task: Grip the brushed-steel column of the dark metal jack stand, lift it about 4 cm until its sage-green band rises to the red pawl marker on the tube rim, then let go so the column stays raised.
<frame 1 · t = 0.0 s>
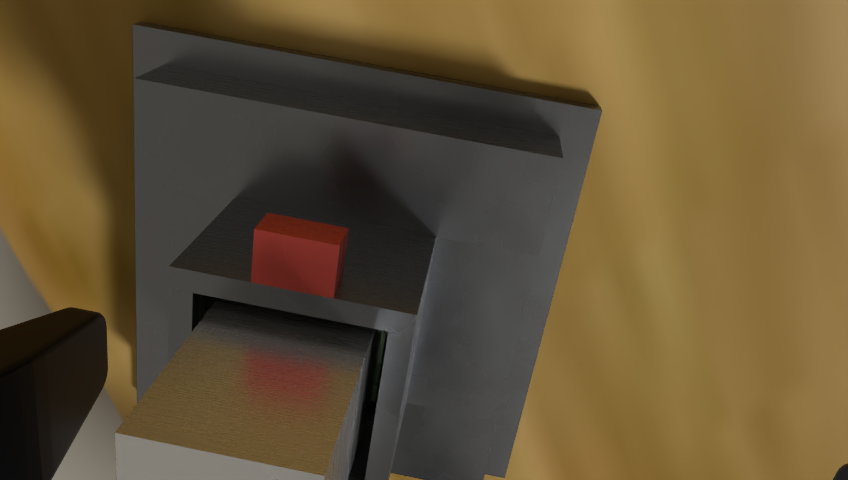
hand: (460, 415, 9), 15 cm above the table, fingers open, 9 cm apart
jack stand base: (342, 269, 25), on the table
column: (292, 372, 20), point 6 cm above the table, slide at 0.0 cm
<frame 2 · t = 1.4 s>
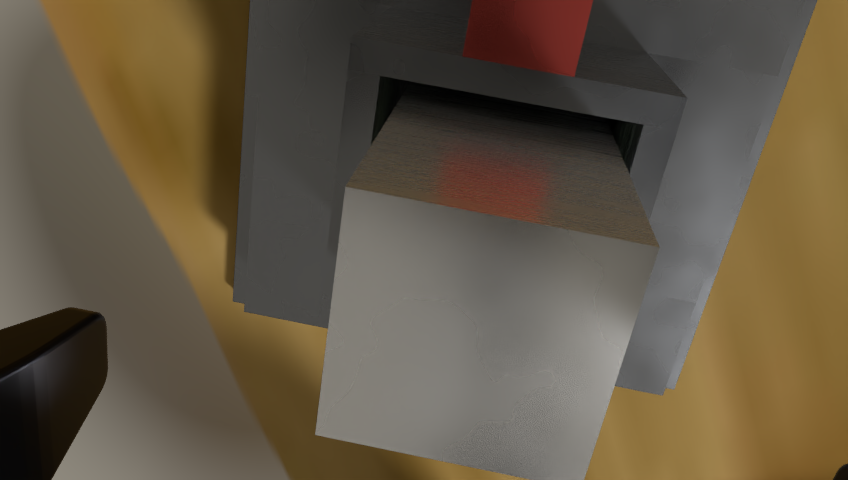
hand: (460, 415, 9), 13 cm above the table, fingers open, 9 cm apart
jack stand base: (495, 125, 21), on the table
column: (487, 204, 15), point 6 cm above the table, slide at 0.0 cm
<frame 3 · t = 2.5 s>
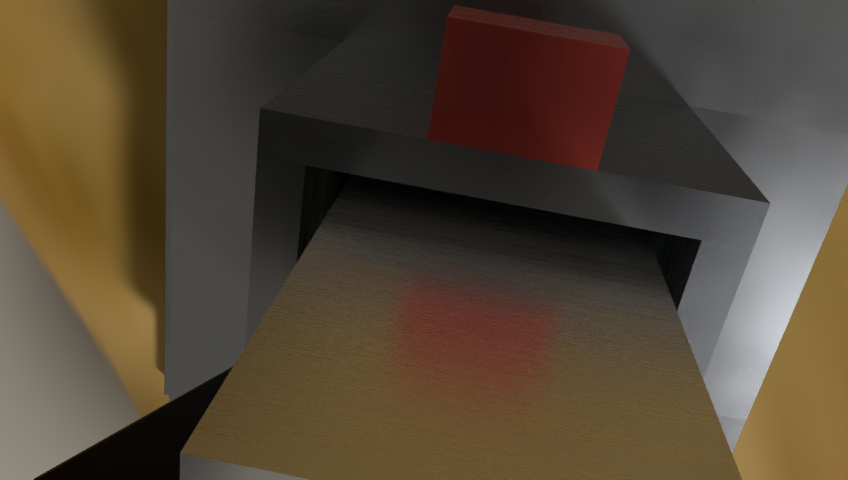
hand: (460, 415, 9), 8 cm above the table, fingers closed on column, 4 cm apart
jack stand base: (486, 185, 16), on the table
column: (469, 331, 11), point 6 cm above the table, slide at 0.0 cm, touching gripper
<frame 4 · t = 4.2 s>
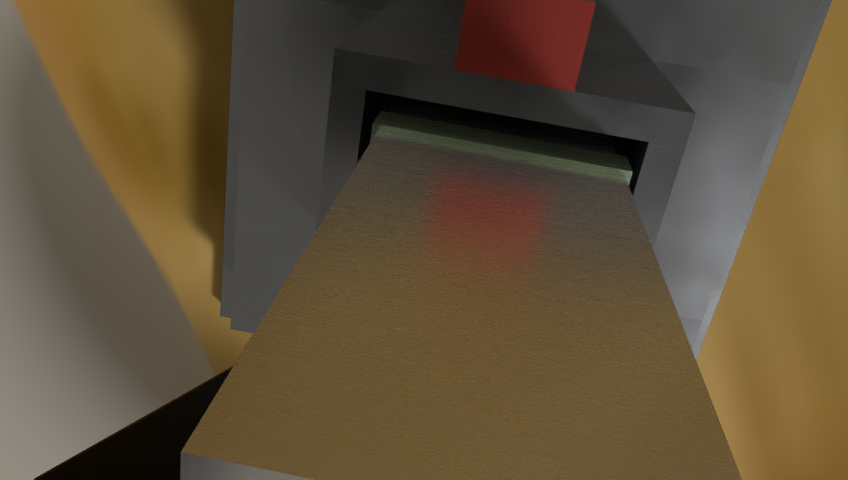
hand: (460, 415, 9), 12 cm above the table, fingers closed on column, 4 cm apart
jack stand base: (492, 133, 20), on the table
column: (469, 330, 11), point 10 cm above the table, slide at 3.9 cm, touching gripper
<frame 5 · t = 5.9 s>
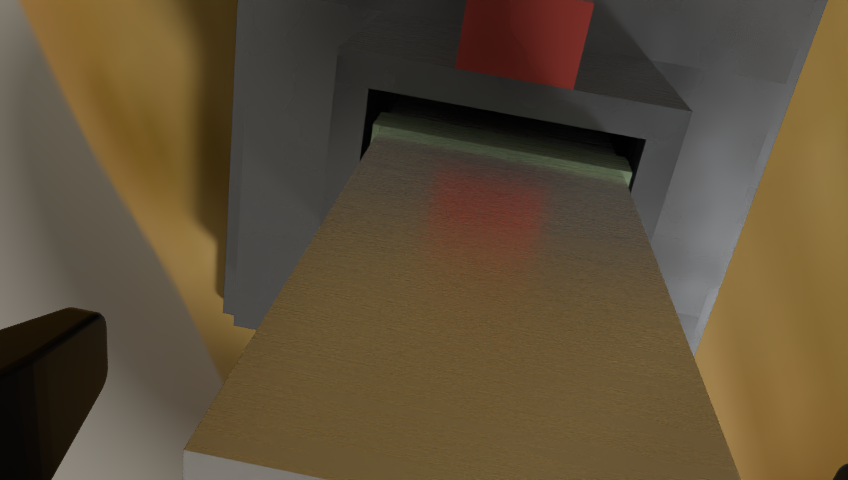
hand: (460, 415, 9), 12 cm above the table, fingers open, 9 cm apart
jack stand base: (492, 132, 20), on the table
column: (469, 330, 11), point 10 cm above the table, slide at 4.1 cm
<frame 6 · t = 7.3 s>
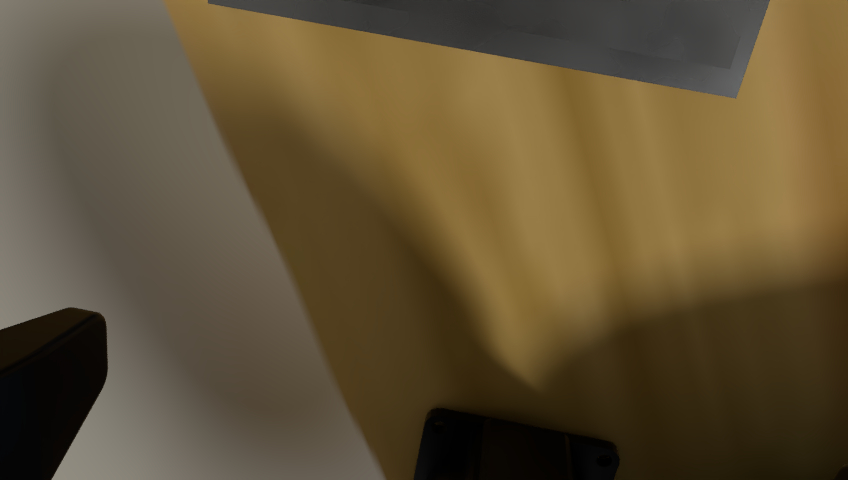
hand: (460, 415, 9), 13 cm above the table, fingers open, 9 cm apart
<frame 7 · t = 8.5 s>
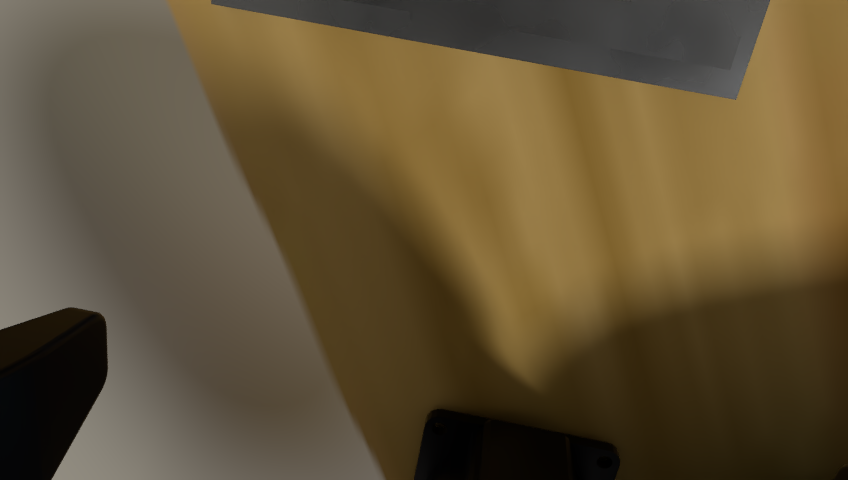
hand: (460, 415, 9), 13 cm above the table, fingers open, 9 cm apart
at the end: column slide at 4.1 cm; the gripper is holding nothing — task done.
